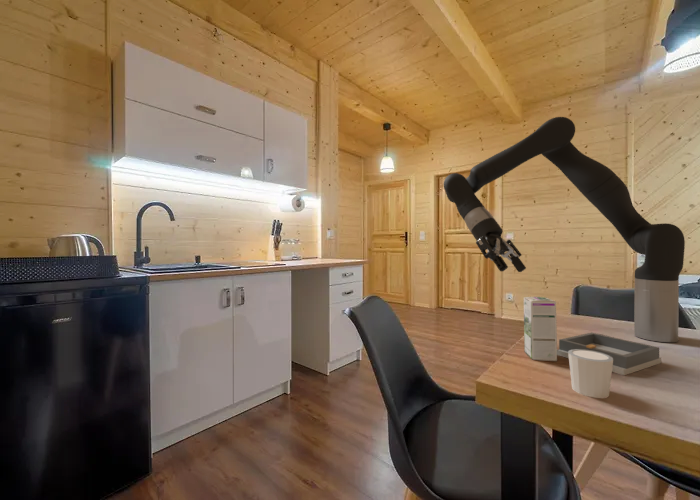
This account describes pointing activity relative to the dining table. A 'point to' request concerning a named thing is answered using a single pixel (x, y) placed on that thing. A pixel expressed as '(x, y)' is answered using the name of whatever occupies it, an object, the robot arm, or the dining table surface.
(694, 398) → the dining table surface
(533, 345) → the syrup box
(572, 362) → the white cup
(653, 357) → the pocket plate
